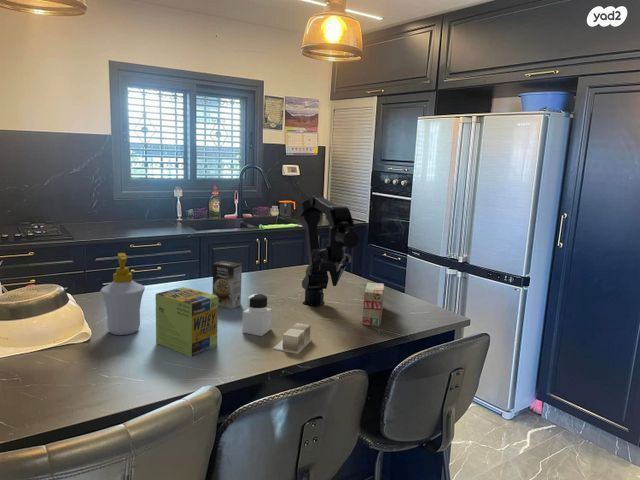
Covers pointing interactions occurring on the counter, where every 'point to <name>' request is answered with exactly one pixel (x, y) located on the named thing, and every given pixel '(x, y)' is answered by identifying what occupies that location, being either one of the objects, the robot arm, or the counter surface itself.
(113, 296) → the soap bottle
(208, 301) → the protein box
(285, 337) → the beech block
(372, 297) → the stack of blocks
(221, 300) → the coffee box
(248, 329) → the medicine bottle
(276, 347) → the felt mat
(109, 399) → the counter surface
